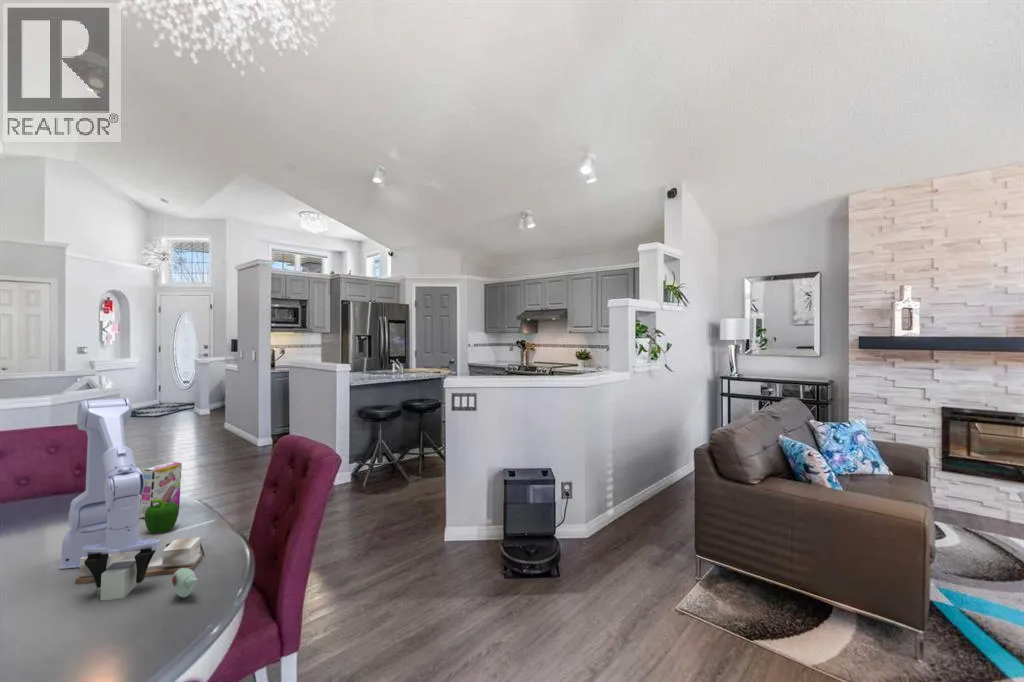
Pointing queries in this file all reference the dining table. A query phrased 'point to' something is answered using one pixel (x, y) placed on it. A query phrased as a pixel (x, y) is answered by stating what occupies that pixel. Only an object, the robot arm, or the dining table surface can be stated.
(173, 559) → the board
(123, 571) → the block
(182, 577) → the robot head
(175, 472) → the candy bar box
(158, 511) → the bell pepper
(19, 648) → the dining table surface
